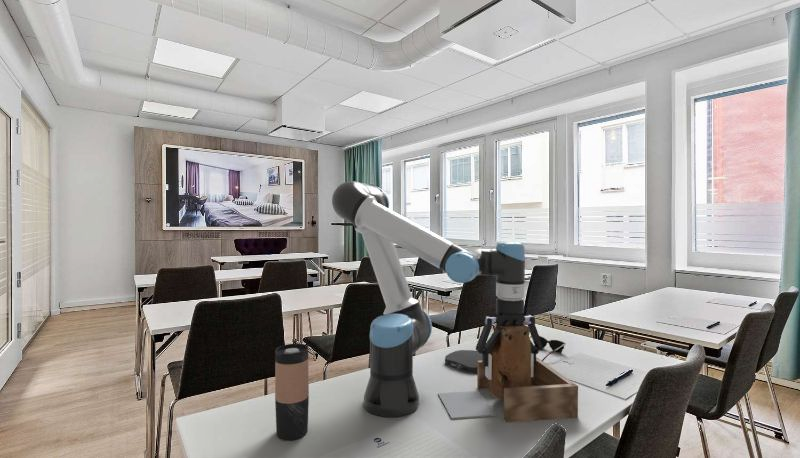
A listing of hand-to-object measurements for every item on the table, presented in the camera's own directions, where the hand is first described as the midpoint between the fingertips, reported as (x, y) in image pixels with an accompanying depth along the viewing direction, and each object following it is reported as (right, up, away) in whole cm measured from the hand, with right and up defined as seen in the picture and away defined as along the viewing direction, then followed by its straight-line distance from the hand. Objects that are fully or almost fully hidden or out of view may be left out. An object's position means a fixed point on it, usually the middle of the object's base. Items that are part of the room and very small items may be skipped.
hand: (509, 376), depth 107 cm
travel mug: (-56, -7, -16) cm, 58 cm away
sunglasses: (+22, -7, +39) cm, 45 cm away
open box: (+5, -7, +1) cm, 8 cm away
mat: (-12, -7, -2) cm, 14 cm away
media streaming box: (-6, -7, +29) cm, 30 cm away
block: (0, -5, 0) cm, 5 cm away
